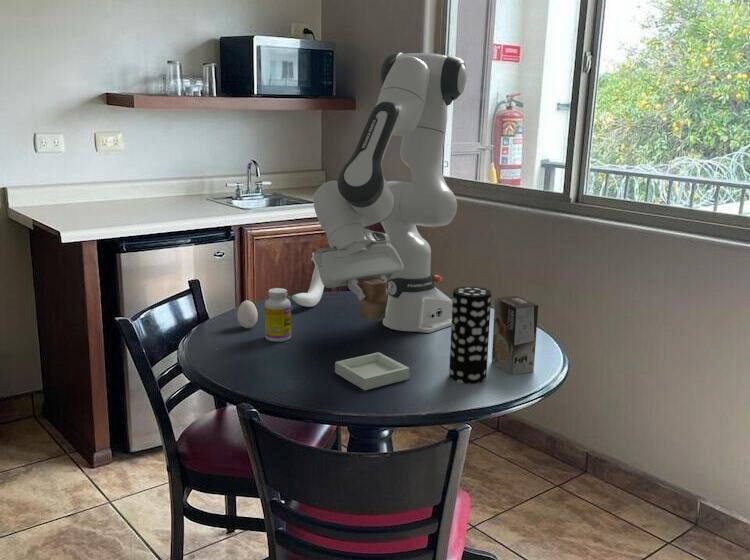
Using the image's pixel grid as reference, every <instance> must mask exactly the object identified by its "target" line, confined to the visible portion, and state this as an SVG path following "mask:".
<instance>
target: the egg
mask: <svg viewBox="0 0 750 560" xmlns="http://www.w3.org/2000/svg"><path fill="white" fill-rule="evenodd" d="M258 315H259V314H258V310H257V308H256V305H255V304H254V303H253V302H252V301H250V300H247V299H245V300H244V301H242V302H241V303H240V305H239V306H238V309H237V315H236V317H237V322H238V324H239V325H240V326H241V327H242V328H245V329H251V328H253V327H254V326H255V325H256V323H257V322H258V317H259V316H258Z"/></svg>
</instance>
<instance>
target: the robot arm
mask: <svg viewBox="0 0 750 560" xmlns="http://www.w3.org/2000/svg"><path fill="white" fill-rule="evenodd" d="M467 75H468V73H467V66H466V64H465V62H464V60H463V59H462V58H460V57H457V56H454V55H450V54H449V55H444V54H440V53H433V52H423V53H420V52H416V53H415V52H412V53H403V52H396V53H392V54H389V55H388V56H387V57H386V58H385V59H384V60H383V62H382V65H381V68H380V82H381V86H382V87H381V89H380V92H379V95H378V99H377V101H376V104H375V106H374V107H373V109H372V111H371V113H370V115H369V117H368V120H367V121H366V124H365V126H364V128H363V131H362V133H361V136H360V138H359V140H358V143H357V145H356V148H355V150H354V152H353V154H352V155H351V156H350V158H349V160H348V161H347V162H346V163H345V164H344V166H342V168H341V169H340V172H339V174H338V176H337V180H329V181H326V182H324V183H323V184H321V185H320V186H319V187H318V188H317V189H316V191H315V192H314V194H313V197H312V198H313V199H312V202H313V207H314V211H315V215H316V217H317V220H318V222H319V224H320V227H321V229H322V230H323V231H324V232H325V234H326V240H327V243H328V245H329V247H326V248H323V247H322V248H317V249H316V251H314V252H313V253H314V255H313V257H314V260H315V262H316V264H317V265H318V270H319V274H320V278H321V281H322V283H323V285H324V288H326V289H332V288H337V287H345V286H347V287H348V290H350V291H351V292H353V294H355V295H356V296H357V298H358V301H359V302H360V301H361V300H366V298H368V294H367V292H366V290H362V289H361V288H360V287H361V286H359V285H358V284H360V285H361V281H362V280H369V279H378V280H381V281H384V282H386V285H387V287H386V297H387V302H386V307H385V318H382V319H383V320H382V325H383V326H385V327H386V328H389V329H391V330H396V331H402V332H417V333H426V334H428V333H429V334H430V333H433V332H437V331H439V330H441V329H445V328H447V327H451V325H452V304H453V300H452V299H451V298H449V296H447V295H446V294H445V293H443V291H442V290H440V289H438V288H437V287H436V284H437V283H438V284H440V283H442V281H443V277H442V276H440V275H438V274H435V275H434V274H432V273H431V259H432V257H431V255H432V249H431V245H430V244H429V243H428V241H427V240H426V239H425V238H423V237H422V235H421V234H420V233H419V231H418V228H417V226H419V227H420V226H421V227H428V228H436V227H443V226H448V225H449V224H451V222H452V221H453V219H454V218H455V216H456V214H457V211H458V210H457V209H458V202H457V198H456V195H455V194H454V192H453V190H451V189H450V188H449V185H447V183H446V180H445V177H444V174H443V167H442V166H443V165H442V159H443V151H444V144H445V143H444V142H445V137H446V132H447V123H448V106H451V104H452V103H453V101H455V100H457V99H458V98H459V97H460V96H461V95H462V93H464V90H465V87H466V84H467V78H468V76H467ZM393 136H397V137H401V136H402V137H401V143H400V149H399V157H400V160H401V162H402V163H403V164H404V165H405V166H406V167H407V168H409V170H410V173H411V182H409V181H399V180H398V181H397V180H388V181H387V180H386V178H385V177H384V173H383V165H382V164H383V160H384V157H385V155H386V152H387V149H388V148H389V145H390V142H391V139H392V137H393ZM378 223H380V224H381V226H382V227H383V230H384V232H379V231H374V230H372V229H368V227H369V226H374V225H376V224H378ZM435 283H436V284H435Z"/></svg>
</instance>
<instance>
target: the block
mask: <svg viewBox="0 0 750 560" xmlns="http://www.w3.org/2000/svg"><path fill="white" fill-rule="evenodd" d="M359 287H360V288H361V289H362V290H366V292H367V294H368V298H366V300H361V301H360V300H359V302H360V303H359V317H362V318H364V319H367V320H369V321H375V320H380V319H384V318H385V312H386V308H387V302H386V300H387V298H386V297H387V296H386V288H387V284H386V282H384V281H381V280H378V279H369V280H362V281H361V283H360V286H359Z"/></svg>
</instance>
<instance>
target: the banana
mask: <svg viewBox="0 0 750 560" xmlns="http://www.w3.org/2000/svg"><path fill="white" fill-rule="evenodd" d="M313 255H314V252H312V257H311V259H310V260H311V261H312V262H313V263H314V268H313V272H312V276H311V281H310V285H309V289H308V290H307V292H299V293H296V294H293V295H292V297H291V299H292V300H293V302H295V303H296V304H297V305H299V306H301V307H302V306H303V307H307V308H309V307H310V308H311V307H315V306H316V305H317V304H319V302H320V300H321V299H322V296H323V292H324V288H325V286H324V285H323V283H322V281H321V278H320V274H319V270H318V265H317V264H316V262H315V260H314V257H313Z"/></svg>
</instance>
